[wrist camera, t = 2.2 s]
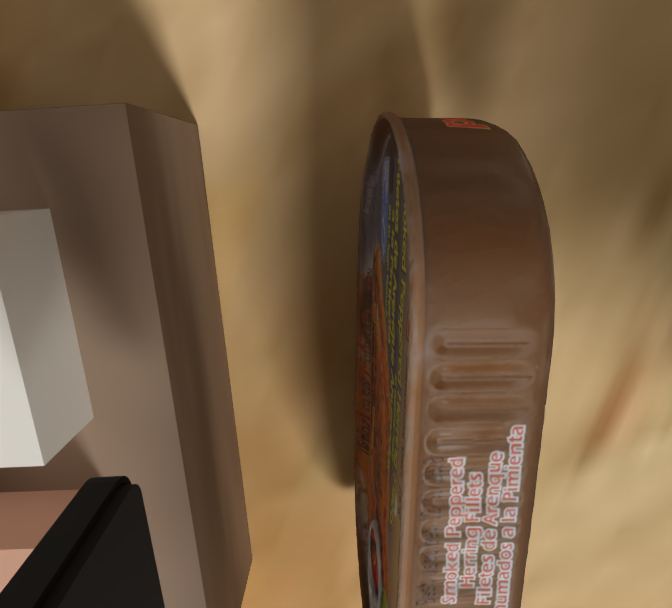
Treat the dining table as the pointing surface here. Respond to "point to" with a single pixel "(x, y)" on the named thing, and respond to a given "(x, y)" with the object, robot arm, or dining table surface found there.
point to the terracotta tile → (26, 525)
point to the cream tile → (36, 345)
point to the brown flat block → (140, 331)
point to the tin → (449, 363)
